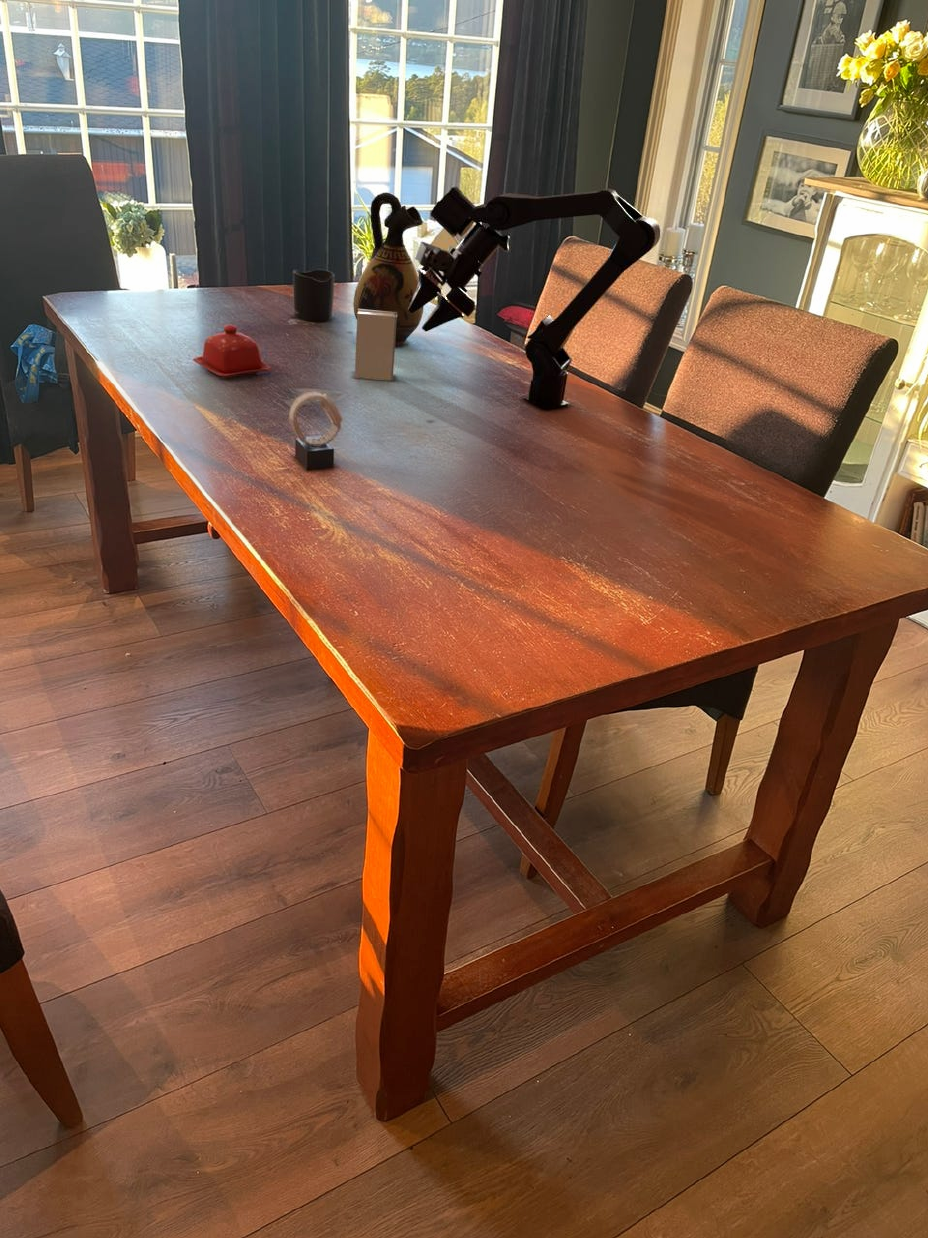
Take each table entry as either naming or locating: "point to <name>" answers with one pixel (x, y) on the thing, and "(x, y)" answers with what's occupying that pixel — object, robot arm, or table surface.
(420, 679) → the table surface
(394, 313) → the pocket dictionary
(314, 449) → the ring sculpture
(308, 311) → the pen holder
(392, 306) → the ceramic jug
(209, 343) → the butter dish
